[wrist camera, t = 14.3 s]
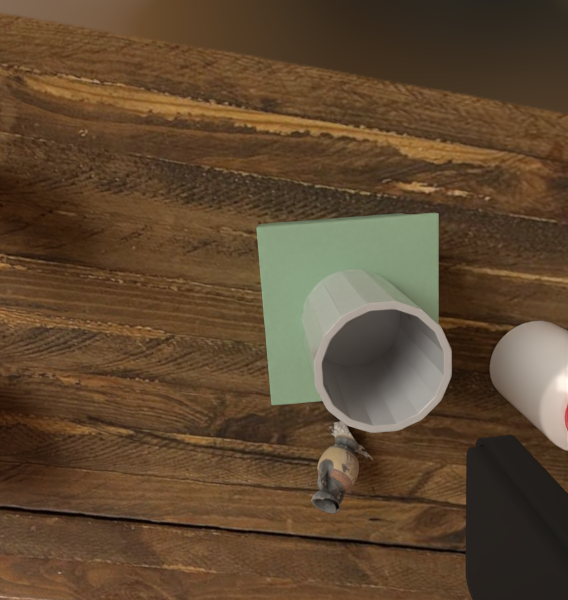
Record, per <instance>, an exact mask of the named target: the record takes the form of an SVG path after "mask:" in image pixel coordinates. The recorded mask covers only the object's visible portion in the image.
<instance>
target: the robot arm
mask: <svg viewBox="0 0 568 600" xmlns="http://www.w3.org/2000/svg"><path fill="white" fill-rule="evenodd" d="M466 579H467V584H468V588H469V591H470V594H471V597H472V599H473V600H568V493H567V492H566V491H565V490H564V489H563V488H562V487H561V486H560V485H559V484H558V483H557V482H556V480H555V479H554V478H553V477H552V476H551V475H550V474H549V473H548V472H547V471H546V470H545V469H544V468H543V467H542V466H541V464H540V463H539V462H538V461H537V460H536V459H535V458H534V457H533V456H532V455H531V454H530V453H529V452H528V451H527V449H526V448H525V447H524V446H523V445H522V444H521V443H520V442H519V441H518V440H517V439H516V438H515V437H514V436H512V435H506V436H496V437H486V438H479V439H478V440H477V442H476V447H471V448H469V449H468V451H467V472H466Z"/></svg>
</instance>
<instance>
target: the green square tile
mask: <svg viewBox="0 0 568 600" xmlns="http://www.w3.org/2000/svg"><path fill="white" fill-rule="evenodd" d="M257 239H258V251H259V263H260V274H261V286H262V298H263V310H264V322H265V334H266V345H267V357H268V369H269V381H270V393H271V404H272V405H282V404H294V403H305V402H317V401H322V399H321V397H320V395H319V393H318V392H317V390H316V387H315V383H314V379H313V375H312V371H311V367H310V363H309V359H308V355H307V351H306V347H305V343H304V339H303V333H302V325H301V317H302V310H303V307H304V304H305V301H306V299H307V297H308V295H309V294H310V292H311V291H312V290H313V288H314V287H315V286H316V285H317V284H318V283H319V282H320V281H322V280H323V279H324V278H326V277H328V276H329V275H331V274H334V273H336V272H339V271H343V270H349V269H360V270H366V271H370V272H373V273H375V274H378V275H379V276H382V277H384V278H385V279H386V280H387V281H388V282H390V283H391V284H392V285H393V286H394V287H396V288H397V289H398V290H399V291H400V292H402V293H403V294H404V295H405V296H406V297H407V298H409V299H410V300H411V301H412V302H413V303H415V304H416V305H417V306H418V307H419V308H421V309H422V310H423V311H424V312H425V313H426V314H427V315H429V316H430V317H431V318H432V319H433V320H434V321H435V322H437V323H438V324H439V214H438V213H425V214H412V215H399V216H385V217H372V218H359V219H346V220H333V221H320V222H307V223H294V224H281V225H268V226H257Z"/></svg>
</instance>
